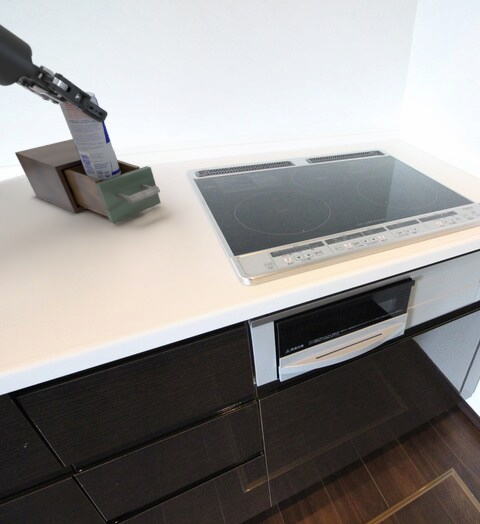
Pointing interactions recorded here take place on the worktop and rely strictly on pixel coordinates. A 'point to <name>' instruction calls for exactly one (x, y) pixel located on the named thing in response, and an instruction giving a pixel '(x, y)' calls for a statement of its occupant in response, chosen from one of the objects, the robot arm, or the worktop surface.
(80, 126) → the beverage can
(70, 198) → the cabinet
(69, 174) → the drawer
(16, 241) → the worktop surface
